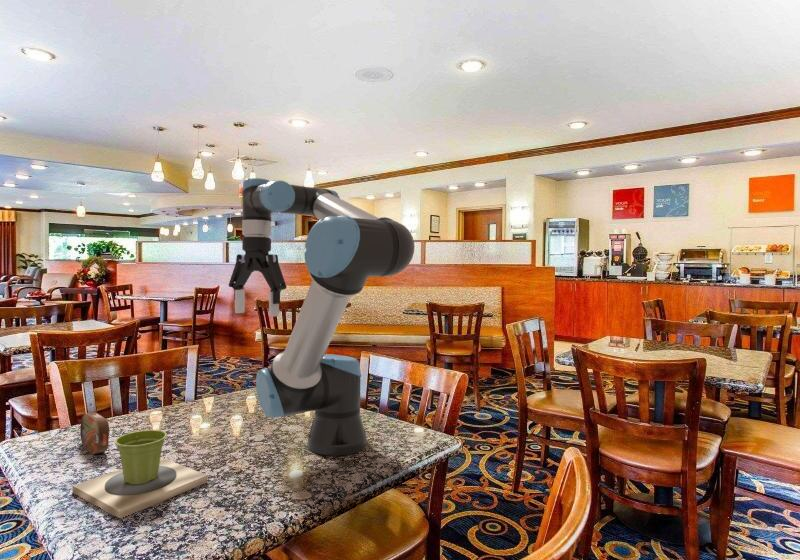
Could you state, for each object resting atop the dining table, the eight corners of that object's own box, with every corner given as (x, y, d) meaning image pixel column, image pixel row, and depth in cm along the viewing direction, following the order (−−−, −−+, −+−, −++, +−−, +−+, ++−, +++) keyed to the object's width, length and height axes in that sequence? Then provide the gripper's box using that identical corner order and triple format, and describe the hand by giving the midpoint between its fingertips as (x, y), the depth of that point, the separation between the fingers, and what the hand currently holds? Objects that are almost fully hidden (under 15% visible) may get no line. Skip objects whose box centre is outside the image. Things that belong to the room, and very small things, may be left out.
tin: (79, 442, 123) (78, 410, 123) (93, 439, 125) (93, 407, 125) (96, 459, 113) (96, 423, 112) (111, 455, 115) (111, 420, 115)
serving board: (207, 482, 101) (207, 473, 101) (119, 519, 86) (119, 509, 86) (158, 462, 111) (158, 454, 111) (72, 492, 96) (72, 484, 96)
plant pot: (118, 473, 101) (118, 432, 101) (167, 466, 105) (167, 427, 105) (111, 492, 93) (111, 448, 92) (165, 484, 96) (165, 442, 96)
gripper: (300, 236, 126) (299, 316, 127) (237, 238, 140) (237, 310, 140) (279, 234, 120) (278, 318, 121) (215, 236, 133) (215, 312, 134)
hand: (256, 314), depth 131 cm, fingers open, 13 cm apart
